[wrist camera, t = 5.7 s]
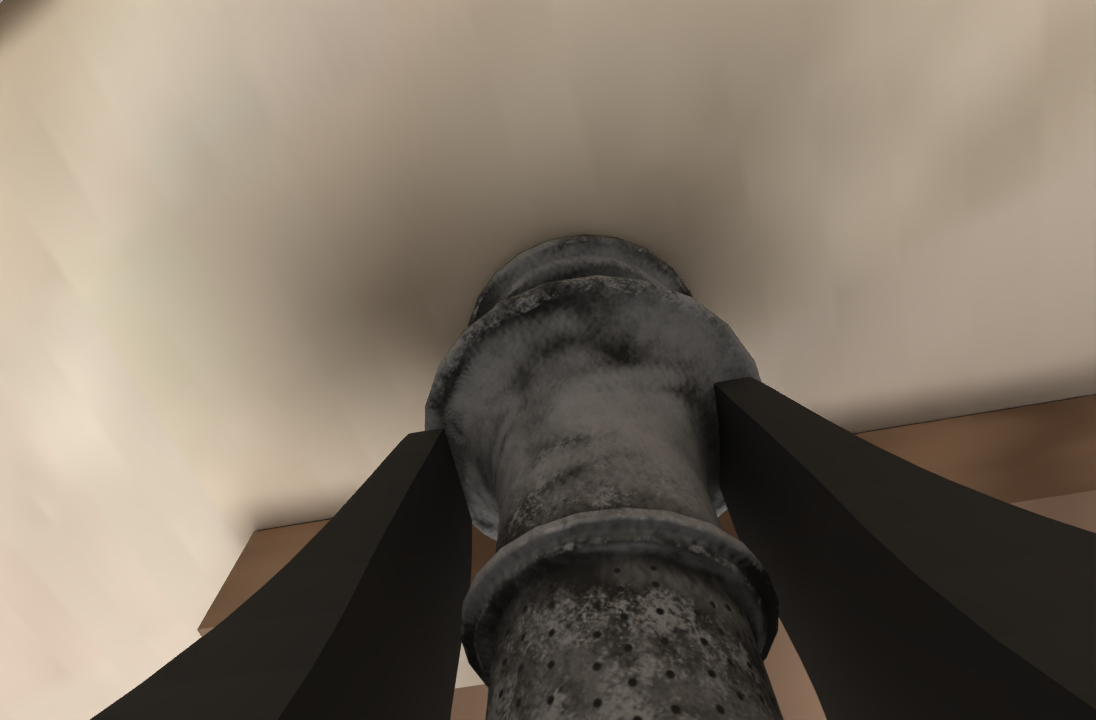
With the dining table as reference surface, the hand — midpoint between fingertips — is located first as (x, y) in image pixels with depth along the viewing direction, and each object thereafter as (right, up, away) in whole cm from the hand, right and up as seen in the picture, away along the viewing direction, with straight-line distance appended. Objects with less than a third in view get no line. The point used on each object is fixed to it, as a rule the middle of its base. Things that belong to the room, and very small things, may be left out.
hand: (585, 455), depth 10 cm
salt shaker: (0, +2, +4) cm, 4 cm away
